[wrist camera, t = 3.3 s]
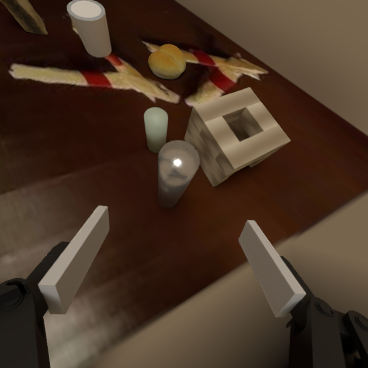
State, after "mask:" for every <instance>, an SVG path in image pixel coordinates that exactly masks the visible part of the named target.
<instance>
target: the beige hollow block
mask: <svg viewBox="0 0 368 368" xmlns="http://www.w3.org/2000/svg"><path fill="white" fill-rule="evenodd" d="M184 139H185V141H186V142H187V143H189V144H191V145H192V146H193V147H194V148H195V149H196V150H197V152H198V154H199V158H200V166H201V167H202V169H203V171H204V172H205V174H206V176H207V177H208V179H209V181H210V182H211V184H212V186H213V187H215V186H216V185H218V184H220V183H222V182H223V181H224V180H226V179H227V178H228V177H229V176H231V175H232V174H233V173H234V172H236V171H238V170H240V169H242V168H243V167H245V166H247V165H249V166H250V167H253V166H255V165H256V164H258V163H260V162H261V161H262V160H264V159H265V158H267V157H268V156H270V155H271V154H272V153H274V152H275V151H277V150H278V149H280V148H281V147H282V146H284V145H285V144H287V143H288V142H290V141H291V140H290V139H289V138H288V136H287V135H286V134H285V133H284V131H283V130H282V129H281V127H280V126H279V125H278V124H277V122H276V121H275V120H274V118H273V117H272V116H271V114H270V113H269V112H268V111H267V109H266V108H265V107H264V105H263V104H262V103H261V101H260V100H259V99H258V98H257V96H256V95H255V94H254V92H253V91H252V90H251V88H247V89H244V90H240V91H237V92H234V93H231V94H228V95H225V96H222V97H219V98H216V99H213V100H210V101H207V102H204V103H201V104H197V105H194V106H193V109H192V113H191V117H190V120H189V124H188V127H187V131H186V135H185V138H184Z"/></svg>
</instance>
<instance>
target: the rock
mask: <svg viewBox="0 0 368 368" xmlns="http://www.w3.org/2000/svg"><path fill="white" fill-rule="evenodd" d="M1 2H2V3H3V4H4V5H5V6H6V7H7V9H8V10H9V11H10V13H11V14H12V15H13V16H14V17H15V19H16V20H17V21H18V23H19V24H20V25H21V26H22V27H23V29H24V30H25V31H27V32H31V33H35V34H45V35H47V34H48V33H47V32H46V29H45V25H44V22H43V21H42V20H41V18H40V17H39V15H38V14H37V13H36V12H35V11H34V9H33V7H32V6H31V4H30V3H29V2H28V0H1Z"/></svg>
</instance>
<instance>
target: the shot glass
mask: <svg viewBox="0 0 368 368" xmlns="http://www.w3.org/2000/svg"><path fill="white" fill-rule="evenodd" d="M67 11H68V13H69V15H70V17H71V19H72V21H73V23H74V25H75V27H76V29H77V32H78V34H79V36H80V38H81V40H82V42H83V44H84V46H85V48H86V50H87V52H88V53H89V54H90V55H92V56H95V57H105V56H108V55H109V54H110V53H111V51H112V50H111V44H110V38H109V32H108V27H107V21H106V15H105V9H104V7H103V6H102V5H101V4H99V3H98V2H96V1H93V0H74V1H72V2H70V3H69V4H68V6H67Z"/></svg>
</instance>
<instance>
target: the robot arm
mask: <svg viewBox="0 0 368 368" xmlns="http://www.w3.org/2000/svg"><path fill="white" fill-rule="evenodd" d="M108 232H109V219H108V207H107V206H98V207H97V208H96V210H95V211H94V212H93V213H92V215H91V216H90V217H89V219H88V220H87V221H86V223H85V224H84V225H83V227H82V228H81V229H80V230H79V232H78V233H77V234H76V236H75V237H74V238H73V240H72V241H71V242H61V243H59V244H58V245H56V246H55V247H53V248H52V250H51V251H50V252H49V253H48V254H47V256H46V257H45V258H44V259H43V260H42V262H40V264H39V265H38V266H37V267H36V268H35V269H34V271H33V272H32V273H31V274H30V275H29V276H28V277H27V279H26V280H25V279H22V278H14V279H11V280H7V281H5V282H3V283H1V284H0V368H50V361H49V354H48V347H47V339H46V332H45V325H44V319H43V316H44V315H45V313H46V311H47V310H49V312H50V314H65V313H66V312H67V310H68V308H69V306H70V304H71V302H72V300H73V298H74V296H75V294H76V293H77V291H78V289H79V287H80V285H81V283H82V281H83V279H84V277H85V275H86V274H87V272H88V270H89V268H90V266H91V264H92V262H93V260H94V258H95V256H96V255H97V253H98V251H99V249H100V247H101V245H102V243H103V241H104V239H105V237H106V236H107V234H108ZM238 241H239V243H240V245H241V247H242V249H243V251H244V253H245V255H246V257H247V259H248V261H249V263H250V265H251V267H252V269H253V271H254V274H255V276H256V278H257V280H258V282H259V284H260V286H261V288H262V290H263V292H264V294H265V296H266V298H267V301H268V303H269V305H270V307H271V309H272V311H273V313H274V315H275V317H286V316H287V315H288V314H289V313H291V315H292V317H293V318H292V319H291V320H290V321H289V322H288V323H287V325H286V327H287V328H288V327H289V326H290V325H291V330H290V346H289V362H288V368H368V319H367V318H365V317H364V316H363V315H361V314H360V313H358V312H356V311H348V312H347V313H346V314H344V313H341V312H338V311H336V310H333V309H332V308H331V307H330V306H329V305H328V304H327V303H326V302H324V301H323V300H321V299H319V298H317V297H315V296H314V295H313V293H312V292H311V291H310V289H309V288H308V287H307V285H306V284H305V283H304V281H303V280H302V279H301V277H300V276H299V275H298V273H297V272H296V271H295V270H294V268H293V266H292V265H291V264H290V262H288V261H287V260H286V259H285V258H284V257H283V256H279V255H278V253H277V252H276V250H275V249H274V248H273V246H272V245H271V243H270V242H269V240H268V239H267V238H266V236H265V235H264V233H263V232H262V231H261V229H260V228H259V226H258V225H257V224H256V222H255V221H251V220H247V222H246V224H245V227H244V229H243V231H242V234H241V236H240V238H239V240H238ZM357 351H358V353H359V355H360V357H361V359H359V357H358V356H357V353H356V352H357Z"/></svg>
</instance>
